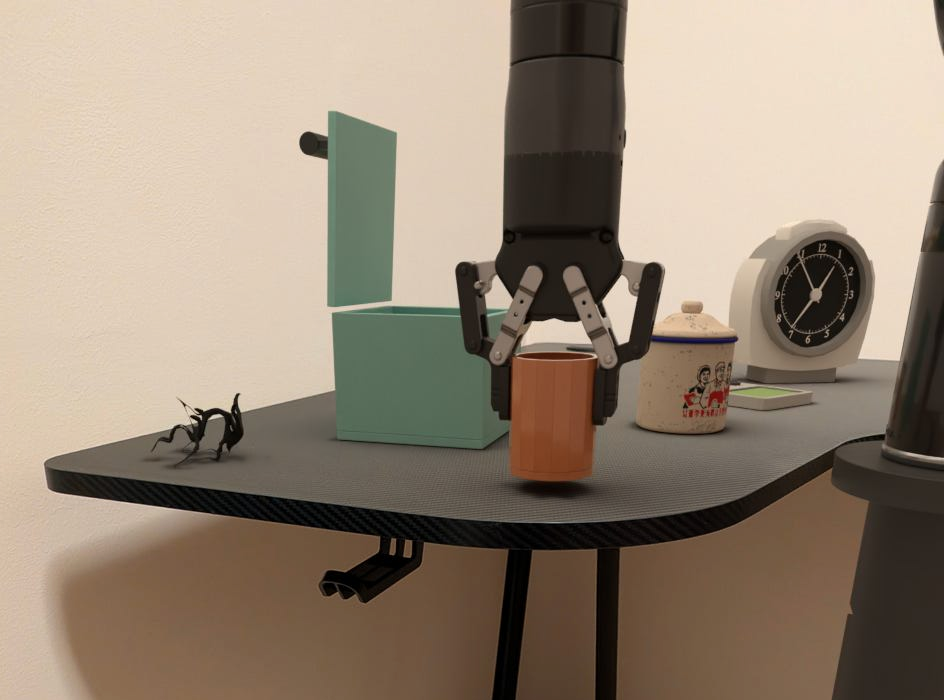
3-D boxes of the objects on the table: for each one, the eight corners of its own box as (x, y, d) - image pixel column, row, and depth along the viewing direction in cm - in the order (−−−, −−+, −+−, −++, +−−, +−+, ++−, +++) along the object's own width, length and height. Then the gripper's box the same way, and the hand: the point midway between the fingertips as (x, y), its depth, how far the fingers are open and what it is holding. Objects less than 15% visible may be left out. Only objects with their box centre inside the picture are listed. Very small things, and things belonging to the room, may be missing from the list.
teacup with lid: (691, 438, 84) (706, 304, 79) (614, 425, 90) (623, 300, 85) (761, 424, 91) (777, 301, 87) (685, 413, 98) (697, 298, 93)
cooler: (518, 424, 90) (522, 309, 86) (482, 449, 78) (484, 317, 74) (390, 416, 94) (388, 305, 90) (336, 439, 82) (331, 312, 78)
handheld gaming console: (709, 376, 116) (816, 388, 105) (708, 388, 116) (813, 402, 106) (658, 381, 110) (766, 395, 99) (657, 395, 111) (764, 410, 100)
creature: (152, 483, 70) (253, 457, 71) (127, 414, 68) (231, 389, 69) (164, 462, 77) (256, 439, 78) (142, 399, 75) (236, 376, 76)
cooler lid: (397, 132, 83) (342, 129, 85) (336, 110, 71) (274, 108, 73) (391, 301, 89) (341, 296, 91) (335, 307, 77) (277, 302, 79)
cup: (599, 465, 67) (605, 352, 64) (585, 483, 62) (591, 361, 59) (520, 461, 69) (522, 350, 65) (500, 478, 63) (501, 359, 60)
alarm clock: (746, 385, 120) (768, 217, 112) (715, 377, 128) (734, 219, 120) (865, 382, 124) (894, 220, 116) (828, 375, 132) (853, 221, 124)
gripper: (436, 148, 56) (439, 425, 62) (674, 140, 52) (651, 436, 58) (470, 160, 62) (470, 409, 69) (684, 153, 58) (662, 417, 65)
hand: (553, 420), depth 64 cm, fingers closed on cup, 6 cm apart
